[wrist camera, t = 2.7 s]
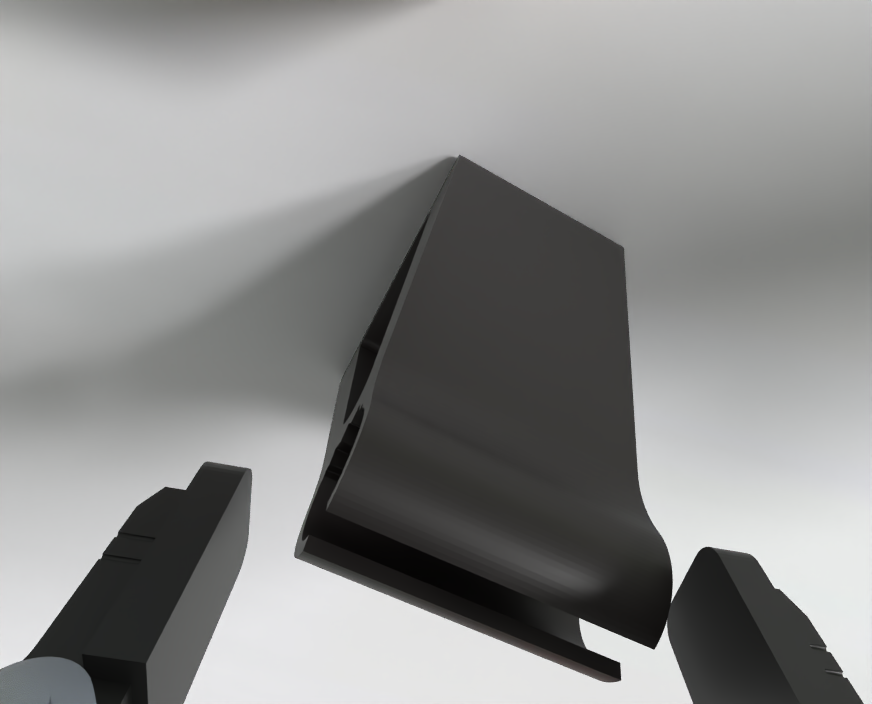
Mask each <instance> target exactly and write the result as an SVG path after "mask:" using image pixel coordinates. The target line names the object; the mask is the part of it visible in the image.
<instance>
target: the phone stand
mask: <svg viewBox="0 0 872 704" xmlns="http://www.w3.org/2000/svg"><path fill="white" fill-rule="evenodd" d="M294 556H295V558H297V559H300V560H302V561H305V562H307V563H310V564H312V565H315V566H317V567H320V568H322V569H325V570H327V571H329V572H332V573H334V574H337V575H339V576H342V577H344V578H347V579H349V580H352V581H354V582H357V583H359V584H362V585H364V586H367V587H369V588H372V589H374V590H377V591H379V592H382V593H384V594H387V595H389V596H391V597H394V598H396V599H399V600H401V601H404V602H406V603H409V604H411V605H414V606H416V607H419V608H421V609H424V610H426V611H429V612H431V613H434V614H436V615H439V616H441V617H444V618H446V619H448V620H451V621H453V622H456V623H458V624H461V625H463V626H466V627H468V628H471V629H473V630H476V631H478V632H481V633H483V634H486V635H488V636H491V637H493V638H496V639H498V640H501V641H503V642H505V643H508V644H510V645H513V646H515V647H518V648H520V649H523V650H525V651H528V652H530V653H533V654H535V655H538V656H540V657H543V658H545V659H548V660H550V661H553V662H555V663H558V664H560V665H563V666H565V667H567V668H570V669H572V670H575V671H577V672H580V673H582V674H585V675H587V676H590V677H592V678H595V679H597V680H600V681H603V682H617V681H621V669H620V663H619V662H617V661H614V660H612V659H609V658H607V657H605V656H602V655H600V654H597V653H595V652H592V651H590V650H588V649H586V647H585V645H584V642H583V640H582V636H581V632H580V626H579V618H581V619H583V620H585V621H588V622H590V623H592V624H595V625H597V626H600V627H602V628H604V629H607V630H609V631H611V632H614V633H616V634H618V635H621V636H623V637H626V638H628V639H630V640H633V641H635V642H637V643H640V644H642V645H644V646H647V647H649V648H652V649H655V647H656V646H657V644H658V642H659V640H660V638H661V635H662V633H663V630H664V628H665V625H666V622H667V618H668V614H669V610H670V605H671V598H672V585H673V579H672V566H671V560H670V556H669V552H668V549H667V546H666V544H665V542H664V540H663V538H662V537H661V535H660V534H659V532H658V531H657V529H656V528H655V526H654V525H653V523H652V521H651V520H650V518H649V516H648V513H647V511H646V509H645V506H644V503H643V500H642V496H641V492H640V487H639V481H638V470H637V454H636V438H635V422H634V406H633V390H632V374H631V357H630V341H629V325H628V309H627V293H626V277H625V261H624V248H623V247H622V246H620V245H618V244H617V243H615V242H613V241H611V240H609V239H608V238H606V237H604V236H602V235H601V234H599V233H597V232H595V231H594V230H592V229H590V228H588V227H586V226H585V225H583V224H581V223H579V222H578V221H576V220H574V219H572V218H571V217H569V216H567V215H565V214H564V213H562V212H560V211H558V210H556V209H555V208H553V207H551V206H549V205H548V204H546V203H544V202H542V201H541V200H539V199H537V198H535V197H533V196H532V195H530V194H528V193H526V192H525V191H523V190H521V189H519V188H518V187H516V186H514V185H512V184H511V183H509V182H507V181H505V180H503V179H502V178H500V177H498V176H496V175H495V174H493V173H491V172H489V171H488V170H486V169H484V168H482V167H480V166H479V165H477V164H475V163H473V162H472V161H470V160H468V159H466V158H465V157H463V156H461V155H459V156H458V158H457V160H456V162H455V164H454V165H453V167H452V169H451V171H450V173H449V175H448V177H447V179H446V181H445V183H444V185H443V186H442V188H441V190H440V192H439V194H438V196H437V198H436V200H435V202H434V204H433V206H432V207H431V209H430V211H429V213H428V215H427V217H426V219H425V221H424V223H423V225H422V227H421V228H420V230H419V232H418V234H417V236H416V238H415V240H414V242H413V244H412V246H411V248H410V249H409V251H408V253H407V255H406V257H405V259H404V261H403V263H402V265H401V267H400V269H399V270H398V273H397V275H396V277H395V279H394V280H393V282H392V284H391V286H390V288H389V289H388V291H387V293H386V295H385V297H384V299H383V301H382V303H381V305H380V307H379V309H378V310H377V312H376V314H375V316H374V318H373V320H372V322H371V324H370V326H369V328H368V330H367V331H366V333H365V335H364V337H363V339H362V341H361V343H360V345H359V347H358V349H357V351H356V352H355V354H354V356H353V358H352V360H351V362H350V364H349V366H348V368H347V370H346V372H345V374H344V376H343V378H342V380H341V382H340V386H339V391H338V396H337V400H336V405H335V410H334V415H333V420H332V424H331V429H330V434H329V439H328V444H327V448H326V453H325V458H324V463H323V467H322V471H321V474H320V478H319V481H318V484H317V487H316V490H315V493H314V495H313V498H312V501H311V504H310V506H309V509H308V511H307V514H306V517H305V519H304V522H303V525H302V528H301V531H300V534H299V537H298V540H297V543H296V547H295V553H294Z"/></svg>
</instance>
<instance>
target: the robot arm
mask: <svg viewBox="0 0 872 704" xmlns="http://www.w3.org/2000/svg"><path fill="white" fill-rule="evenodd" d="M251 486H252V472H251V469H249V468H243V467H237V466H231V465H225V464H219V463H213V462H205V463H204V464H203V465H202V466H201V467H200V469H199V471H198V472H197V474H196V475H195V477H194V478H193V480H192V482H191V483H190V485H189V486H188V488H187V489H186V490H181V489H175V488H169V487H164V488H163V489H162V490H160V491H159V492H157V493H156V494H154V495H153V496H151V497H150V498H148V499H147V500H145V501H144V502H143V503H141V504H140V505H138V506H137V507H136V508H135V510H134V511H133V512H132V514H131V515H130V517H129V518H128V519H127V521H126V522H125V524H124V525H123V526H122V528H121V529H120V530H119V532H118V536H117V537H114V539H113V540H112V541H111V543H110V544H109V546H108V547H107V548H106V550H105V551H104V552H103V556H102V558H101V559H98V561H97V562H96V564H95V565H94V566H93V568H92V569H91V570H90V572H89V573H88V575H87V576H86V577H85V579H84V580H83V581H82V583H81V584H80V586H79V587H78V588H77V590H76V591H75V592H74V594H73V595H72V597H71V598H70V599H69V601H68V602H67V604H66V605H65V606H64V608H63V609H62V610H61V612H60V613H59V615H58V616H57V617H56V619H55V620H54V621H53V623H52V624H51V626H50V627H49V628H48V630H47V631H46V632H45V634H44V635H43V637H42V638H41V639H40V641H39V642H38V644H37V645H36V646H35V647H34V649H33V650H32V651H31V652H30V653H29V655H28V656H27V657H26V658H25V659H24V660H23V661H20V662H17V663H14V664H12V665H9V666H7V667H5V668H2V669H0V704H183V703H184V701H185V699H186V696H187V694H188V692H189V689H190V687H191V685H192V682H193V680H194V677H195V675H196V673H197V670H198V668H199V666H200V663H201V661H202V659H203V656H204V654H205V652H206V649H207V647H208V645H209V642H210V640H211V638H212V635H213V633H214V631H215V628H216V626H217V623H218V621H219V619H220V616H221V614H222V612H223V609H224V607H225V605H226V602H227V600H228V598H229V595H230V593H231V591H232V588H233V586H234V584H235V581H236V579H237V577H238V574H239V572H240V569H241V566H242V563H243V560H244V556H245V552H246V548H247V542H248V535H249V519H250V503H251ZM667 628H668V636H669V640H670V643H671V646H672V649H673V651H674V654H675V656H676V659H677V662H678V664H679V667H680V670H681V672H682V675H683V678H684V680H685V683H686V686H687V688H688V691H689V693H690V696H691V699H692V701H693V704H864V703H863V702H862V700H861V699H860V697H859V696H858V694H857V693H856V691H855V690H854V688H853V686H852V685H851V683H850V682H849V680H848V679H847V678H844V677H843V675H842V672H843V671H842V669H841V668H840V666H839V665H838V663H837V662H836V660H835V659H834V657H833V656H832V654H831V652H827V651H826V647H827V646H826V645H825V643H824V642H823V640H822V639H821V637H820V635H819V634H818V632H817V631H816V629H815V628H814V626H813V625H812V623H811V622H810V620H809V618H808V617H807V616H806V615H805V614H804V613H803V612H802V611H801V610H800V609H799V608H798V607H797V606H796V605H795V604H794V603H793V602H792V601H791V600H790V599H789V598H788V597H787V596H786V595H785V594H784V593H783V592H782V591H781V590H780V589H775V588H774V587H773V585H772V584H771V582H770V580H769V579H768V577H767V575H766V574H765V572H764V571H763V569H762V567H761V566H760V564H759V563H758V561H757V560H756V559H755V558H754V557H753V556H752V555H750V554H747V553H742V552H736V551H730V550H724V549H718V548H712V547H705V548H702V549H701V550H700V551H699V552H698V554H697V555H696V557H695V559H694V561H693V563H692V565H691V567H690V568H689V570H688V572H687V574H686V576H685V578H684V580H683V582H682V584H681V585H680V587H679V589H678V591H677V593H676V595H675V597H674V599H673V601H672V603H671V605H670V610H669V614H668V619H667Z"/></svg>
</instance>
